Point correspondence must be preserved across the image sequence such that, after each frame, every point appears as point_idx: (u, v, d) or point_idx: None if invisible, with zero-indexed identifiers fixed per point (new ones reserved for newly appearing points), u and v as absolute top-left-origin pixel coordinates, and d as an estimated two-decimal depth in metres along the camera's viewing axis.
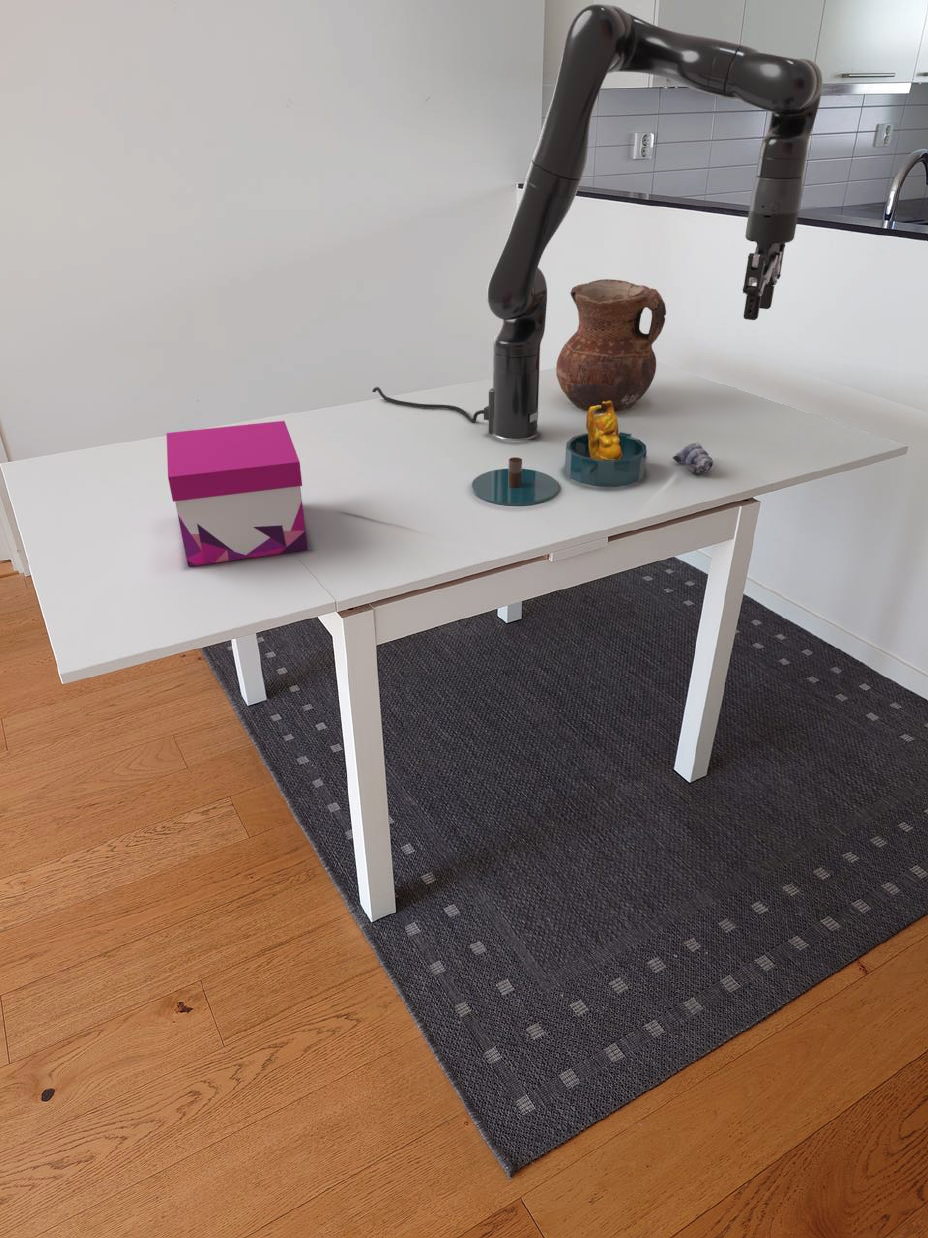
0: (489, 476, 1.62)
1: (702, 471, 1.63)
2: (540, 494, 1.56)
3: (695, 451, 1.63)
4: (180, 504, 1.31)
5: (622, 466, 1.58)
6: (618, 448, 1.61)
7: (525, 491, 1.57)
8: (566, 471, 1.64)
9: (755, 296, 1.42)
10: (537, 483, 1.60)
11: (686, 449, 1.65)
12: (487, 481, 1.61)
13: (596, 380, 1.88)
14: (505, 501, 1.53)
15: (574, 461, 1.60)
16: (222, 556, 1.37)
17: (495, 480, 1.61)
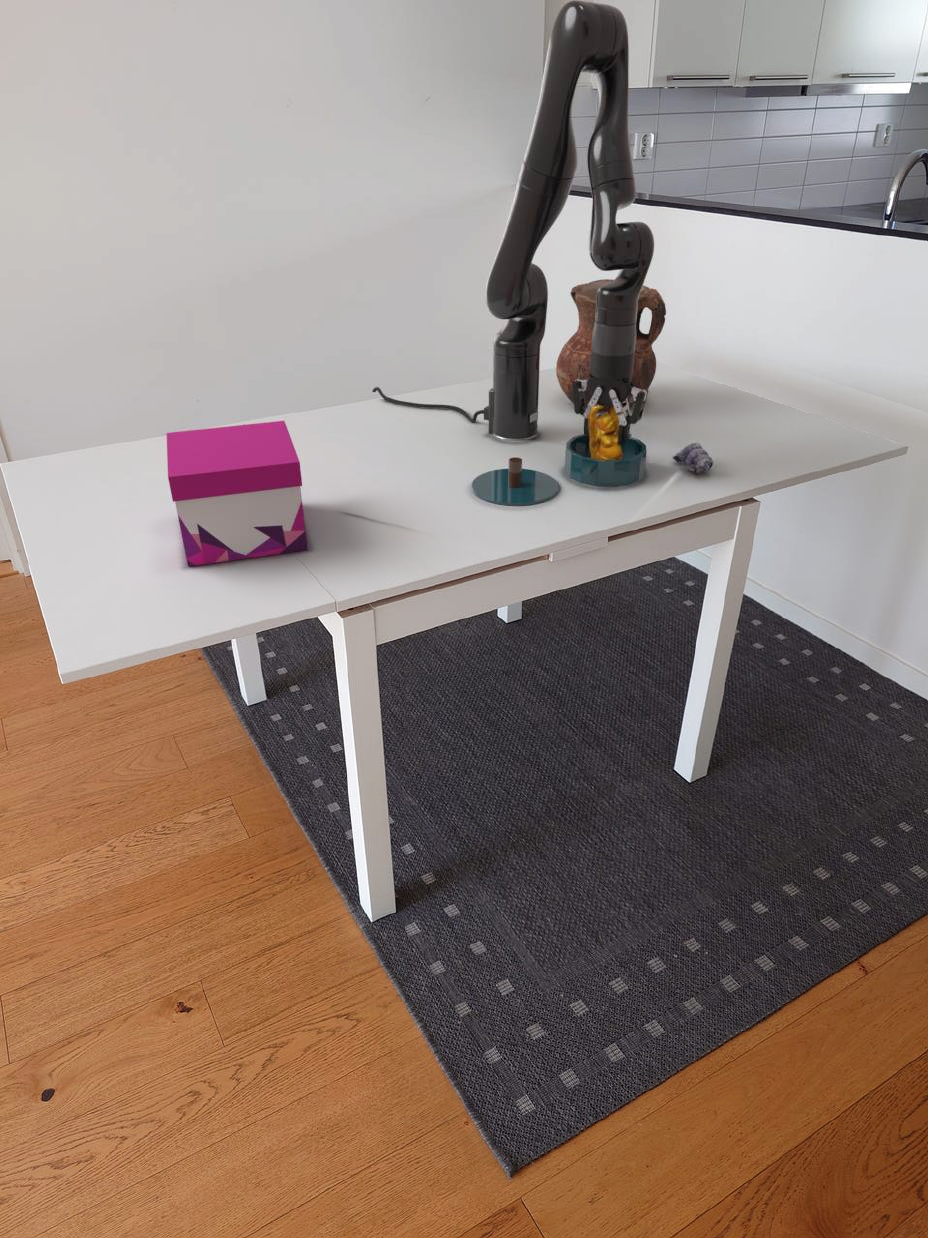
0: (489, 476, 1.62)
1: (702, 471, 1.63)
2: (540, 494, 1.56)
3: (695, 451, 1.63)
4: (180, 504, 1.31)
5: (622, 466, 1.58)
6: (619, 448, 1.61)
7: (525, 491, 1.57)
8: (566, 471, 1.64)
9: (583, 416, 1.62)
10: (537, 483, 1.60)
11: (686, 449, 1.65)
12: (487, 481, 1.61)
13: None
14: (505, 501, 1.53)
15: (574, 461, 1.60)
16: (222, 556, 1.37)
17: (495, 480, 1.61)
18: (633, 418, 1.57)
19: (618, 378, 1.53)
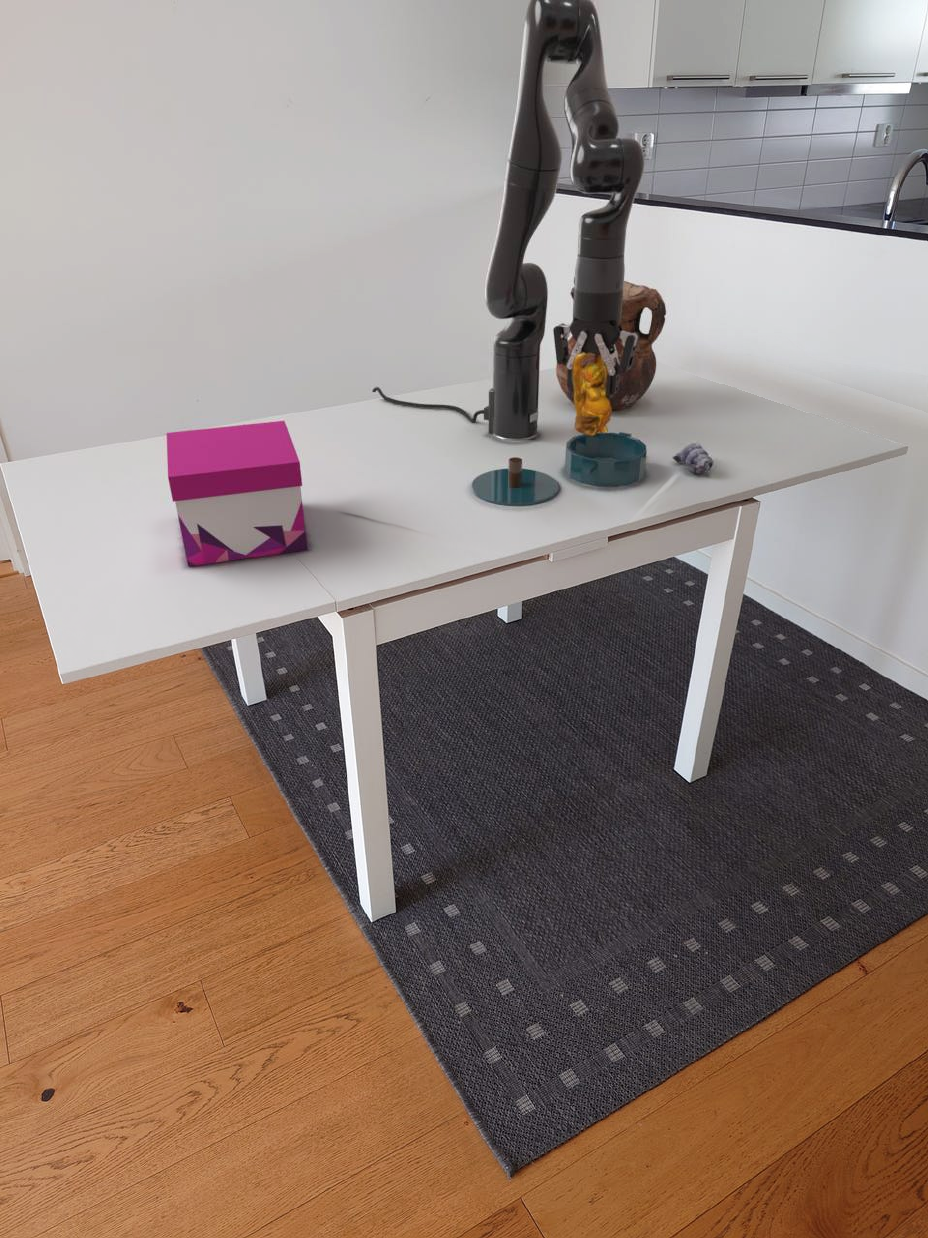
0: (489, 476, 1.62)
1: (702, 471, 1.63)
2: (540, 494, 1.56)
3: (695, 451, 1.63)
4: (180, 504, 1.31)
5: (622, 466, 1.58)
6: (607, 402, 1.43)
7: (525, 491, 1.57)
8: (566, 471, 1.64)
9: (567, 367, 1.44)
10: (537, 483, 1.60)
11: (686, 449, 1.65)
12: (487, 481, 1.61)
13: None
14: (505, 501, 1.53)
15: (574, 461, 1.60)
16: (222, 556, 1.37)
17: (495, 480, 1.61)
18: (622, 366, 1.39)
19: (605, 320, 1.35)
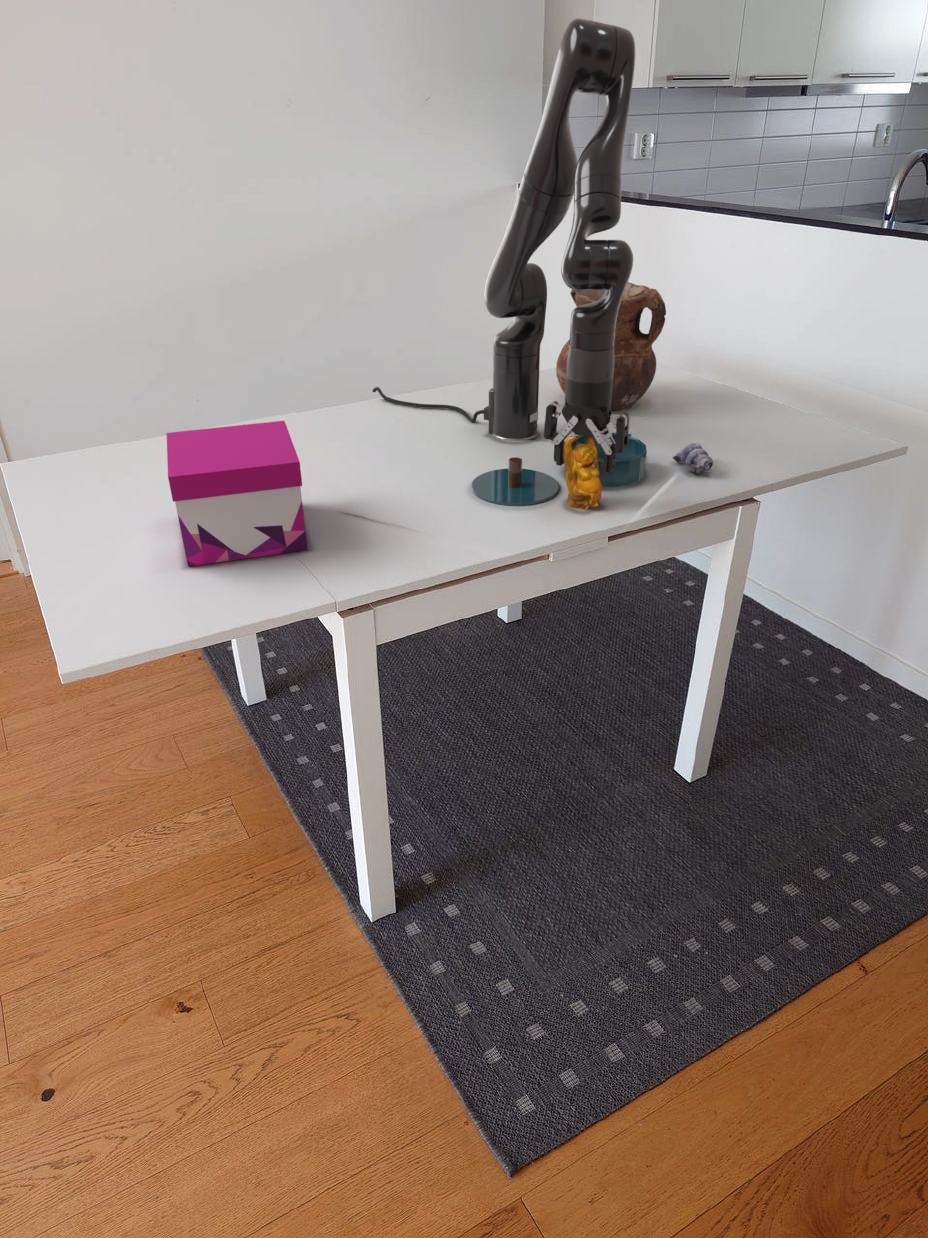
0: (489, 476, 1.62)
1: (702, 471, 1.63)
2: (540, 494, 1.56)
3: (695, 451, 1.63)
4: (180, 504, 1.31)
5: (622, 466, 1.58)
6: (597, 481, 1.50)
7: (525, 491, 1.57)
8: None
9: None
10: (537, 483, 1.60)
11: (686, 449, 1.65)
12: (487, 481, 1.61)
13: None
14: (505, 501, 1.53)
15: None
16: (222, 556, 1.37)
17: (495, 480, 1.61)
18: (619, 447, 1.44)
19: (595, 407, 1.41)
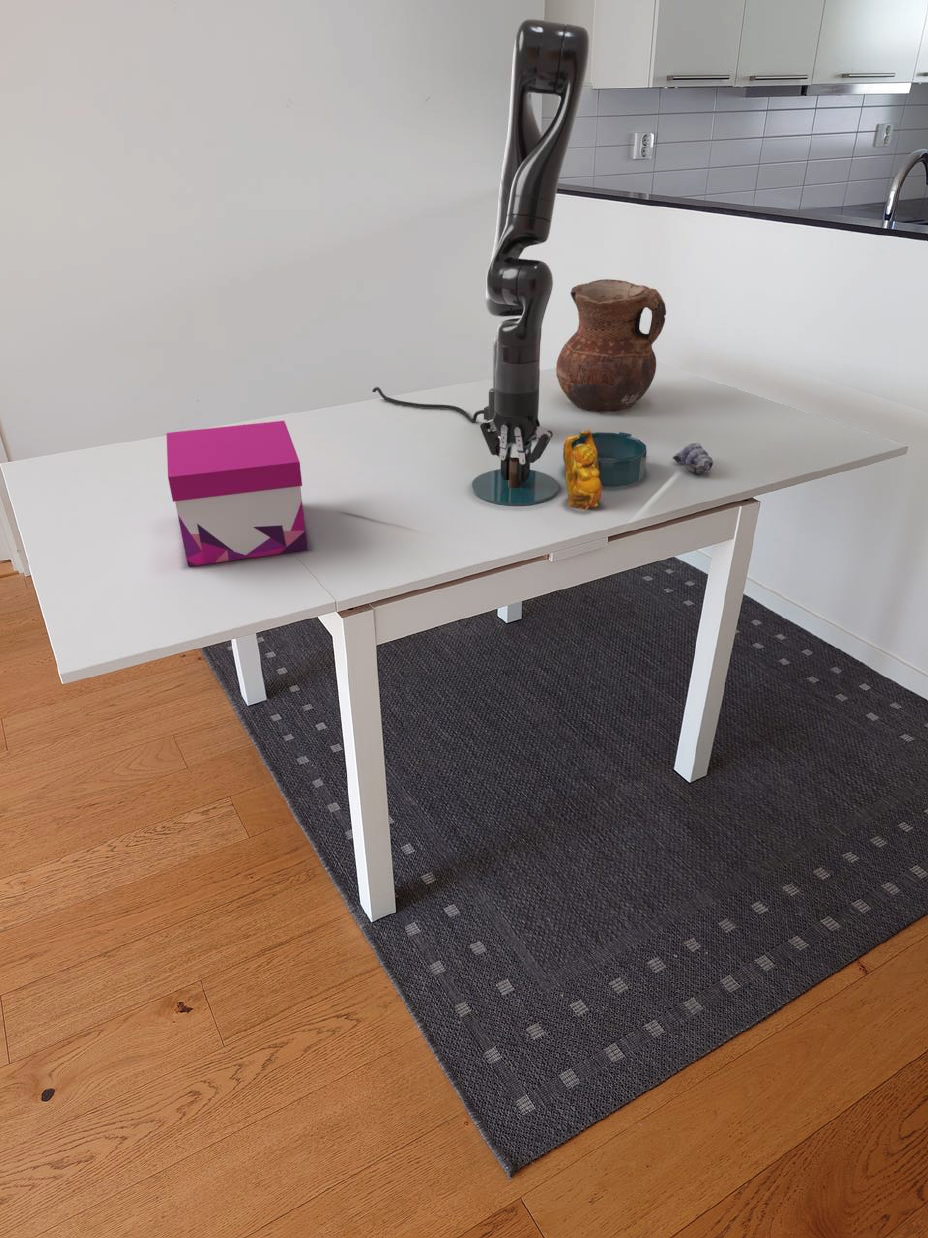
0: (489, 476, 1.62)
1: (702, 471, 1.63)
2: (540, 494, 1.56)
3: (695, 451, 1.63)
4: (180, 504, 1.31)
5: (622, 466, 1.58)
6: (597, 481, 1.50)
7: (525, 491, 1.57)
8: None
9: None
10: (537, 483, 1.60)
11: (686, 449, 1.65)
12: (487, 481, 1.61)
13: (596, 380, 1.88)
14: (505, 501, 1.53)
15: None
16: (222, 556, 1.37)
17: (495, 480, 1.61)
18: (531, 457, 1.53)
19: (522, 416, 1.49)
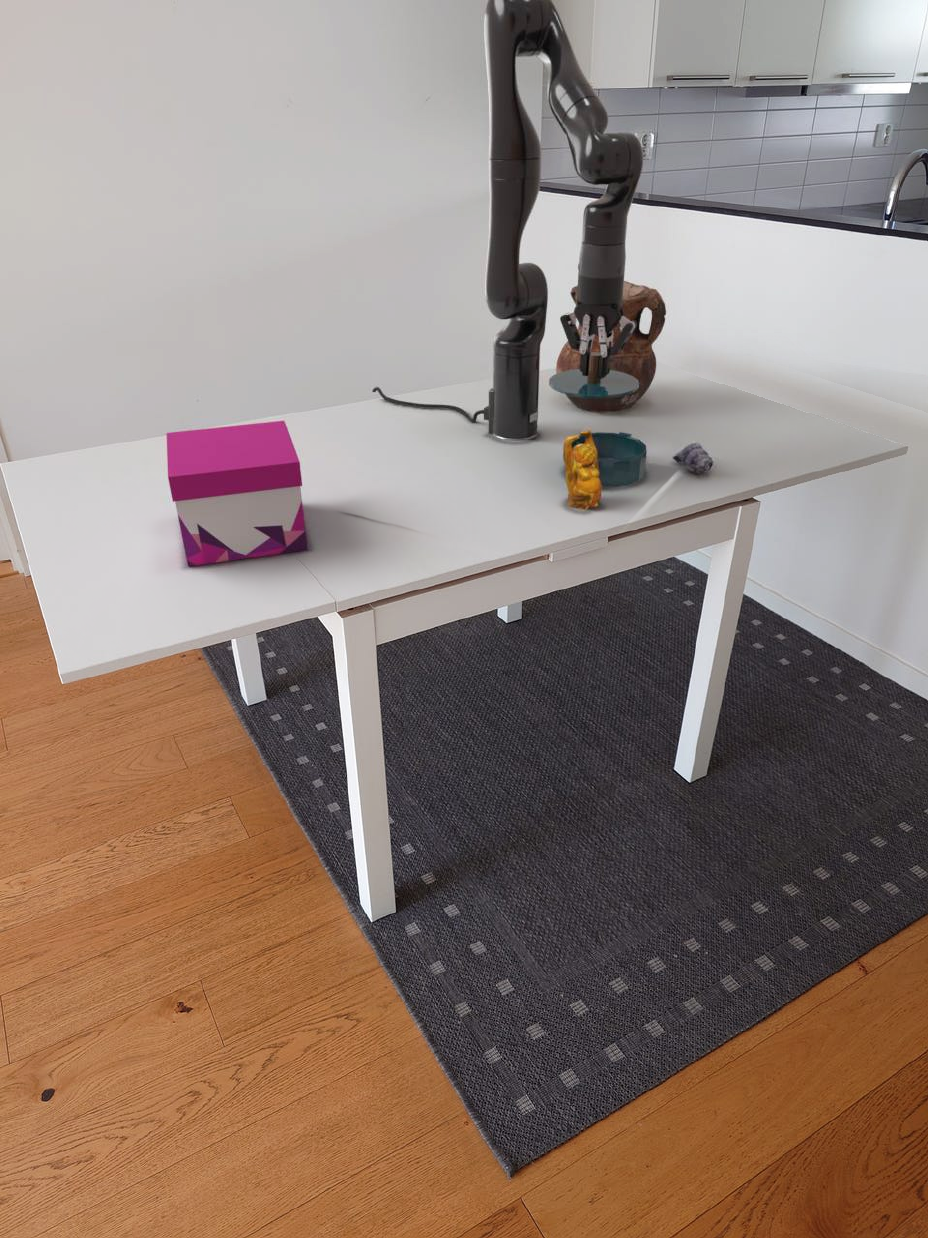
0: (566, 374, 1.59)
1: (702, 471, 1.63)
2: (622, 388, 1.52)
3: (695, 451, 1.63)
4: (180, 504, 1.31)
5: (622, 466, 1.58)
6: (597, 481, 1.50)
7: (606, 386, 1.53)
8: None
9: (580, 352, 1.53)
10: (616, 379, 1.56)
11: (686, 449, 1.65)
12: (565, 378, 1.57)
13: None
14: (587, 394, 1.49)
15: None
16: (222, 556, 1.37)
17: (572, 378, 1.57)
18: (613, 348, 1.49)
19: (607, 303, 1.45)
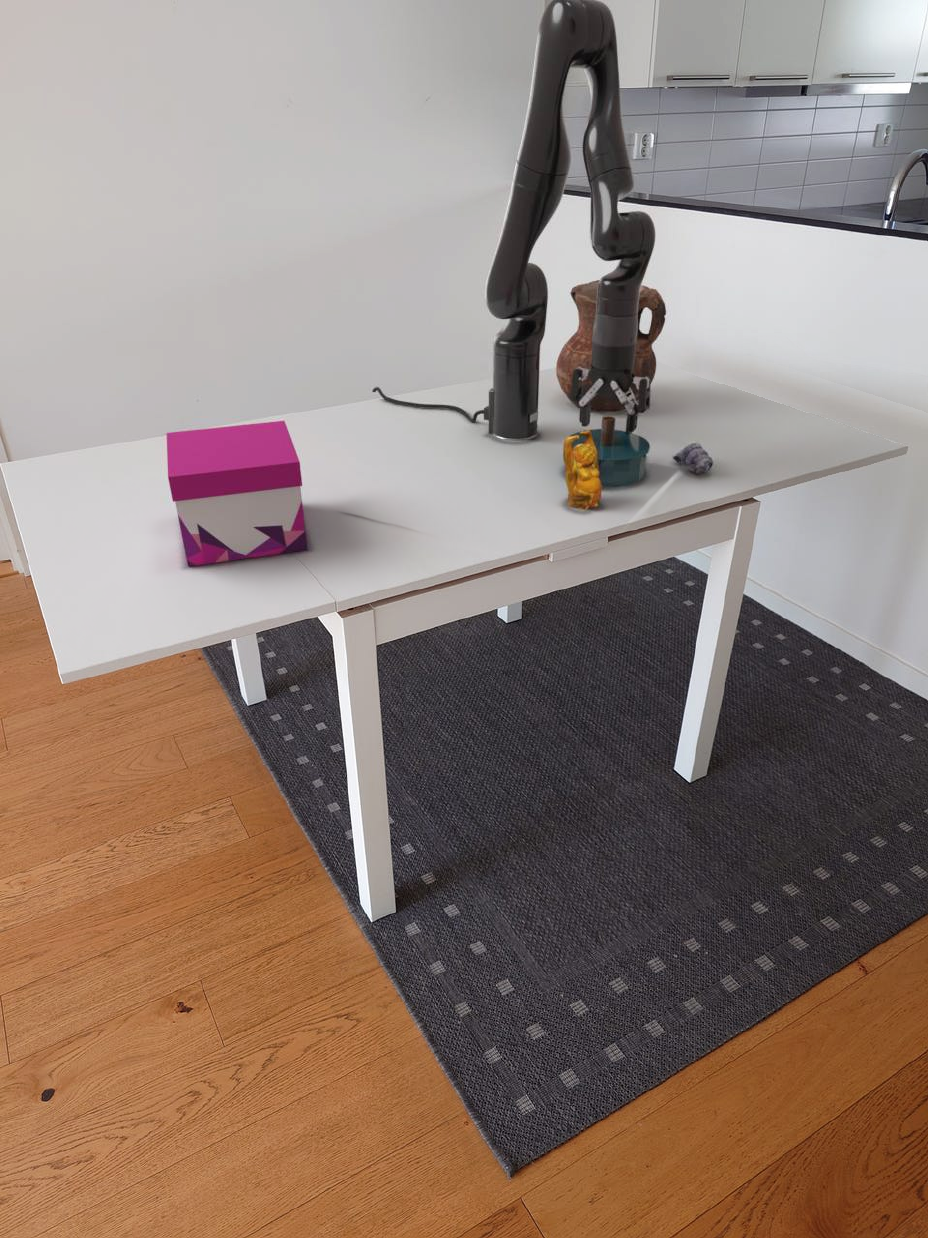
0: (580, 436, 1.66)
1: (702, 471, 1.63)
2: (634, 451, 1.59)
3: (695, 451, 1.63)
4: (180, 504, 1.31)
5: (622, 466, 1.58)
6: (597, 481, 1.50)
7: (618, 449, 1.60)
8: None
9: None
10: (628, 442, 1.63)
11: (686, 449, 1.65)
12: (579, 440, 1.64)
13: None
14: (601, 458, 1.57)
15: None
16: (222, 556, 1.37)
17: None
18: (641, 407, 1.55)
19: (619, 369, 1.52)
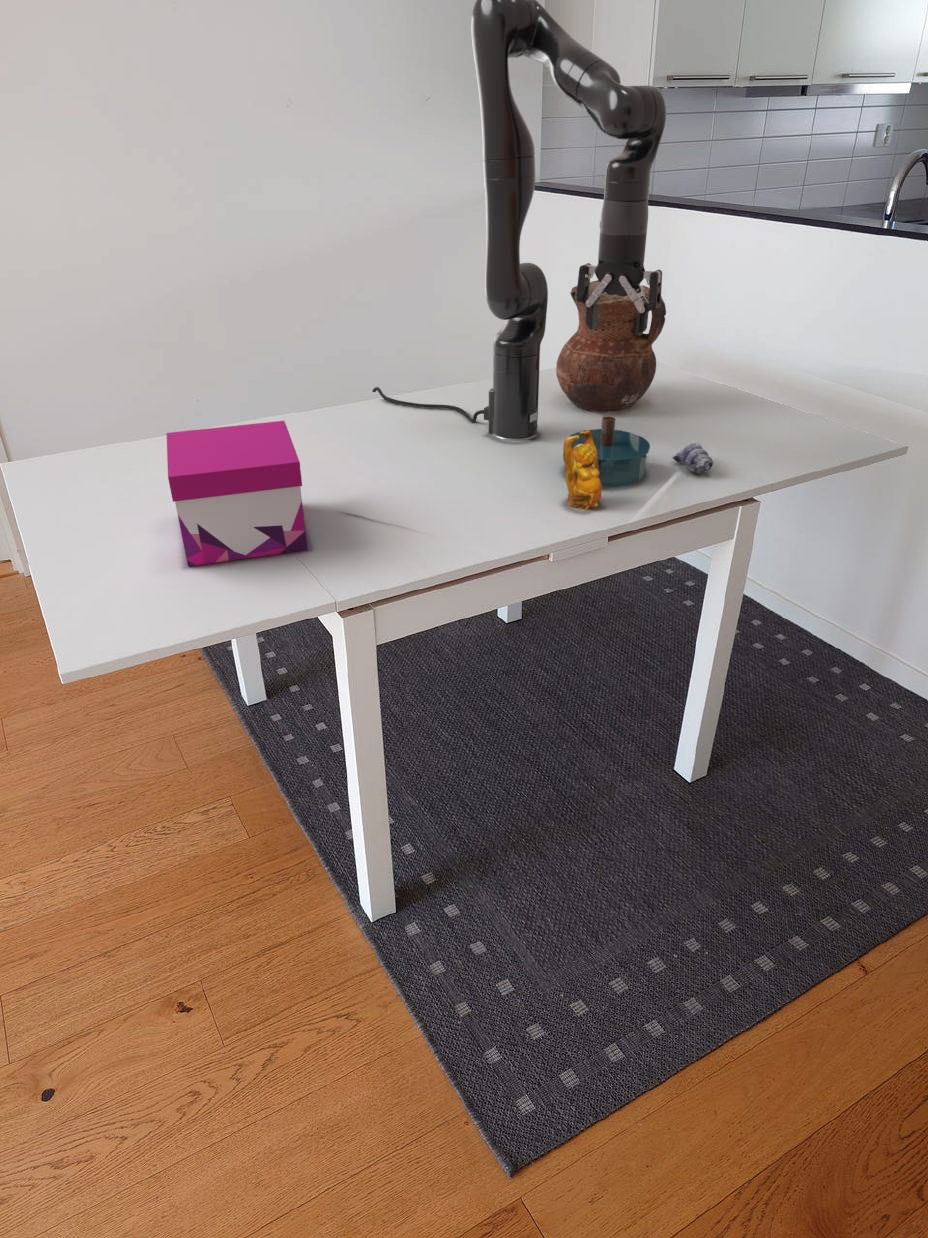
0: (580, 436, 1.66)
1: (702, 471, 1.63)
2: (634, 451, 1.59)
3: (695, 451, 1.63)
4: (180, 504, 1.31)
5: (622, 466, 1.58)
6: (597, 481, 1.50)
7: (618, 449, 1.60)
8: None
9: (586, 305, 1.52)
10: (628, 442, 1.63)
11: (686, 449, 1.65)
12: (579, 440, 1.64)
13: (596, 380, 1.88)
14: (601, 458, 1.57)
15: None
16: (222, 556, 1.37)
17: None
18: (652, 303, 1.45)
19: (629, 261, 1.43)
